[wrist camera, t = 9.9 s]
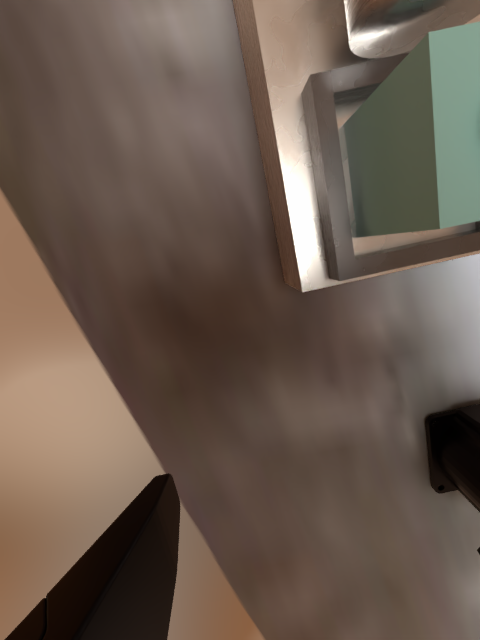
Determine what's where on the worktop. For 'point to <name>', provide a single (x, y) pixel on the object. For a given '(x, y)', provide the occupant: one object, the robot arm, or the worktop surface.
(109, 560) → the robot arm
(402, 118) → the green block with knob
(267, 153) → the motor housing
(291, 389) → the worktop surface
